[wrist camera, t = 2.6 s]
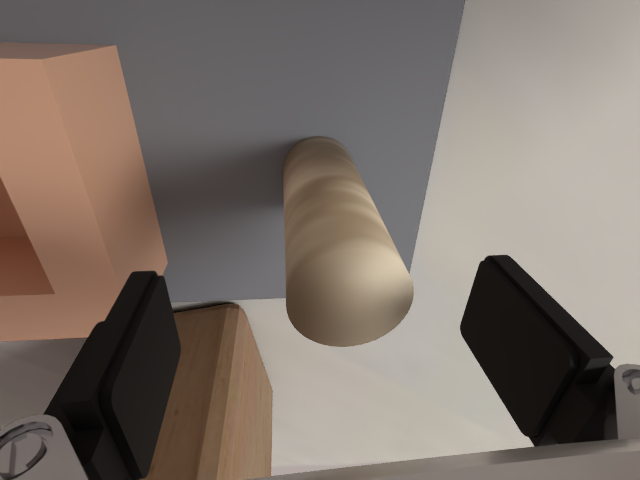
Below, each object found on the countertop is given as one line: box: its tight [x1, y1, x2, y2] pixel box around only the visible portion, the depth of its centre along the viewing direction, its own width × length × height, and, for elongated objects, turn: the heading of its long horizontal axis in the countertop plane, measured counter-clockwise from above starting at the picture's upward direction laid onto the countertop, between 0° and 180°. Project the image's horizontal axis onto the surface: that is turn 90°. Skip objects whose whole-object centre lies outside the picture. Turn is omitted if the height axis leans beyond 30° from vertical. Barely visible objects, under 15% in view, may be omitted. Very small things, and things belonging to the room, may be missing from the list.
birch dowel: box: [283, 136, 414, 347], centre depth 14 cm, size 4×4×10 cm
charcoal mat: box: [0, 0, 465, 303], centre depth 18 cm, size 26×17×1 cm, turn 88°
